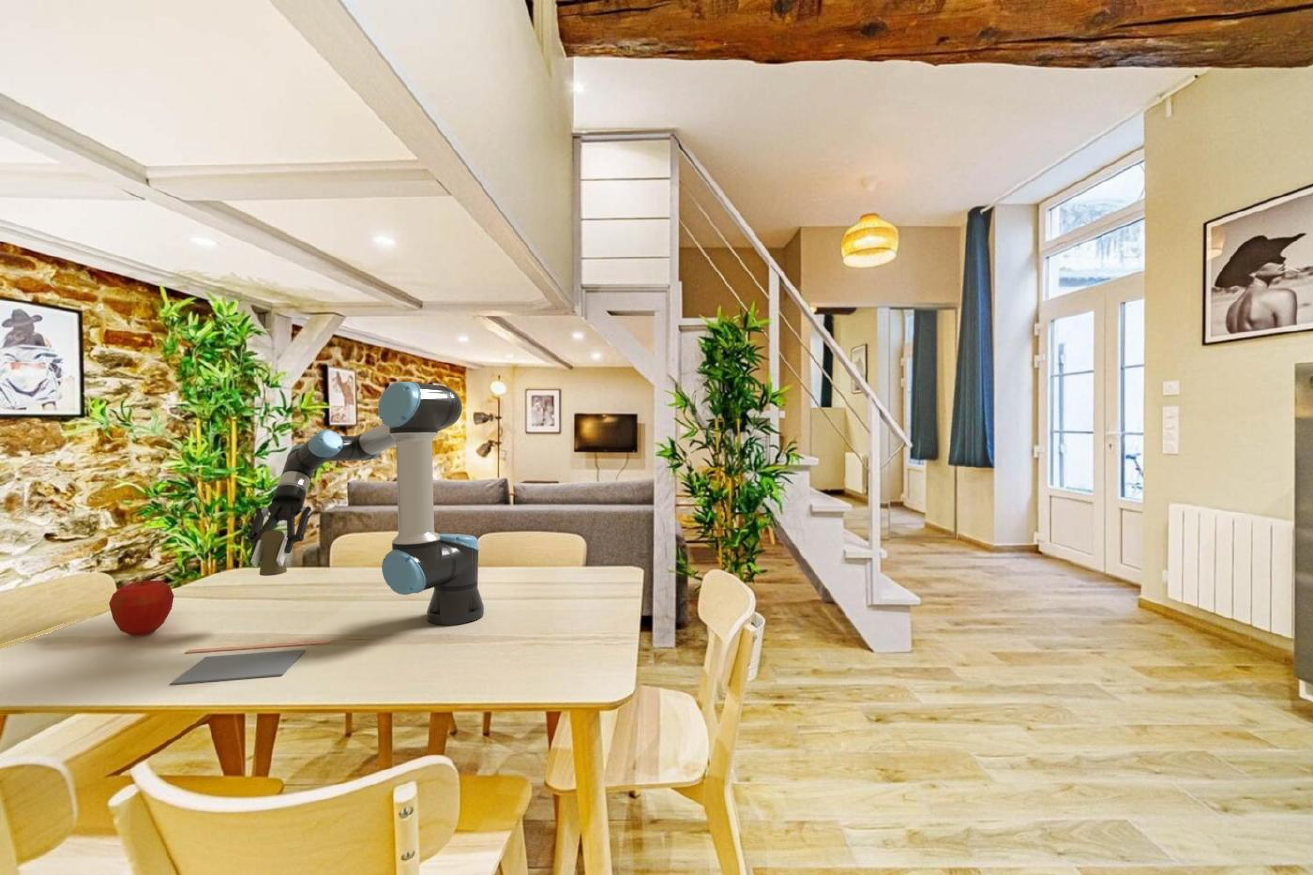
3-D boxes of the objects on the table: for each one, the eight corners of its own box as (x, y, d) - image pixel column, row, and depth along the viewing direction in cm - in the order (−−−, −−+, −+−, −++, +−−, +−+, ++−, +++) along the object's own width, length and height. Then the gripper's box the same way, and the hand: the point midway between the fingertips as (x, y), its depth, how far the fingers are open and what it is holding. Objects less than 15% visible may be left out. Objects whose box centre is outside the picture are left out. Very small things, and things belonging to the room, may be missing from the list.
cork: (268, 569, 153) (267, 528, 153) (291, 569, 154) (291, 528, 153) (253, 575, 147) (253, 533, 147) (278, 575, 148) (277, 533, 147)
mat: (304, 651, 135) (305, 649, 135) (282, 675, 121) (282, 674, 121) (205, 658, 130) (205, 656, 130) (170, 685, 116) (170, 683, 116)
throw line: (331, 641, 141) (331, 639, 141) (329, 643, 140) (329, 642, 140) (188, 651, 134) (188, 649, 134) (184, 653, 132) (184, 652, 132)
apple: (107, 633, 144) (107, 578, 144) (169, 622, 153) (169, 570, 153) (111, 647, 136) (111, 587, 135) (177, 634, 144) (177, 578, 144)
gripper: (329, 498, 167) (310, 569, 151) (259, 500, 163) (231, 573, 147) (323, 482, 162) (302, 554, 146) (250, 483, 157) (220, 557, 142)
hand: (266, 563), depth 147 cm, fingers closed on cork, 5 cm apart
